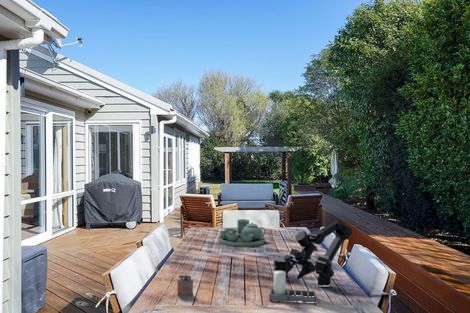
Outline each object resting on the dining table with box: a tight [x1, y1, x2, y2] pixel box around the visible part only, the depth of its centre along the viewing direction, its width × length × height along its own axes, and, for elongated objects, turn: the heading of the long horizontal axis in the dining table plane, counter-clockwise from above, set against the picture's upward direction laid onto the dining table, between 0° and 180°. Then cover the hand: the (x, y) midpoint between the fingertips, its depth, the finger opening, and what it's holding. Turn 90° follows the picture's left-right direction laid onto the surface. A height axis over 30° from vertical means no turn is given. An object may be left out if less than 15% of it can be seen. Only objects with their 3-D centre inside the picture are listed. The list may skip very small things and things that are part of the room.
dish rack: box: [268, 288, 317, 303], centre depth 196 cm, size 23×10×4 cm, turn 82°
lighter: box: [176, 274, 194, 297], centre depth 199 cm, size 8×3×10 cm, turn 92°
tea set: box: [217, 218, 267, 248], centre depth 332 cm, size 40×40×16 cm
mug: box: [273, 257, 289, 278], centre depth 232 cm, size 12×9×10 cm
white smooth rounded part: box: [272, 270, 287, 295], centre depth 197 cm, size 6×6×13 cm
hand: (291, 276), depth 201 cm, fingers open, 9 cm apart
